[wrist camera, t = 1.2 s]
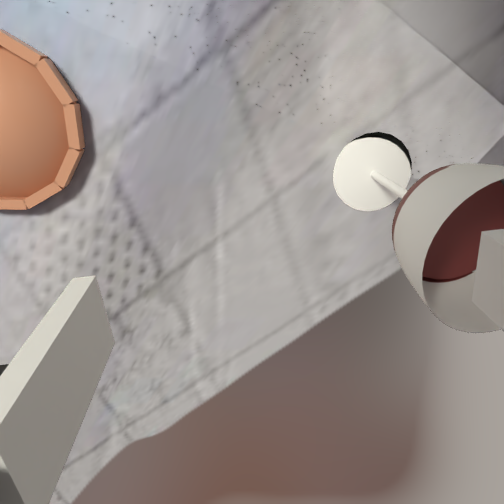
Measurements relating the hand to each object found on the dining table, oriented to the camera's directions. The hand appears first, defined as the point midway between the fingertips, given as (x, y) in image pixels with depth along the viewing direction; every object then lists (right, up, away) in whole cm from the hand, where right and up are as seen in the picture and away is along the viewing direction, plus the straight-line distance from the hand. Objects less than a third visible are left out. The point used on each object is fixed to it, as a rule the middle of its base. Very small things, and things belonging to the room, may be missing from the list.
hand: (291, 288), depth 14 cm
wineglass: (+11, +10, +29) cm, 32 cm away
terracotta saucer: (-26, +13, +25) cm, 38 cm away
